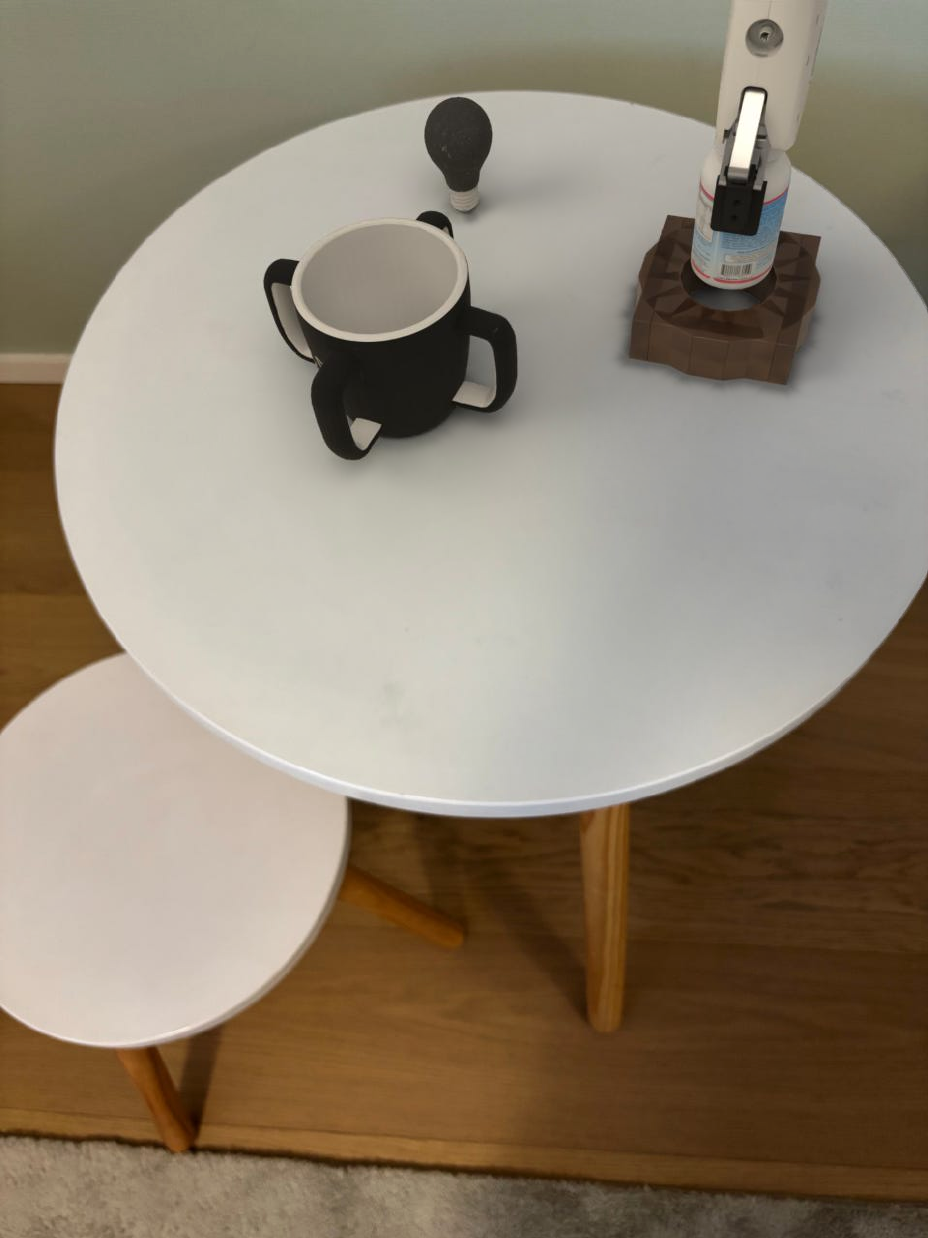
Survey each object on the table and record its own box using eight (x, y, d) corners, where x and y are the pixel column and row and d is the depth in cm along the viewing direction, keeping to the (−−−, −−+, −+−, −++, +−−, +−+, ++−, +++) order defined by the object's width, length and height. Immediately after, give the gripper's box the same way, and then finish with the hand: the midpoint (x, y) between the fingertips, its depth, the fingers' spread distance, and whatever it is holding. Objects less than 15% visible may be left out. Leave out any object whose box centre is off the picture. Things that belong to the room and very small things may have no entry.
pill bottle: (785, 252, 78) (816, 113, 68) (750, 303, 75) (777, 166, 66) (711, 227, 80) (731, 89, 70) (674, 276, 77) (690, 141, 68)
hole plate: (820, 272, 84) (831, 231, 80) (793, 393, 77) (804, 354, 74) (657, 248, 87) (661, 207, 83) (618, 362, 80) (621, 324, 77)
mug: (285, 348, 84) (246, 226, 74) (475, 301, 85) (463, 174, 75) (320, 503, 76) (282, 389, 66) (531, 449, 77) (526, 328, 66)
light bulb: (431, 192, 93) (417, 86, 84) (493, 184, 92) (486, 77, 84) (436, 233, 90) (422, 128, 81) (500, 225, 90) (493, 119, 81)
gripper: (839, 14, 52) (776, 291, 68) (881, -155, 60) (816, 128, 76) (690, 0, 54) (662, 274, 69) (751, -162, 62) (713, 116, 77)
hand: (743, 196), depth 72 cm, fingers closed on pill bottle, 6 cm apart
